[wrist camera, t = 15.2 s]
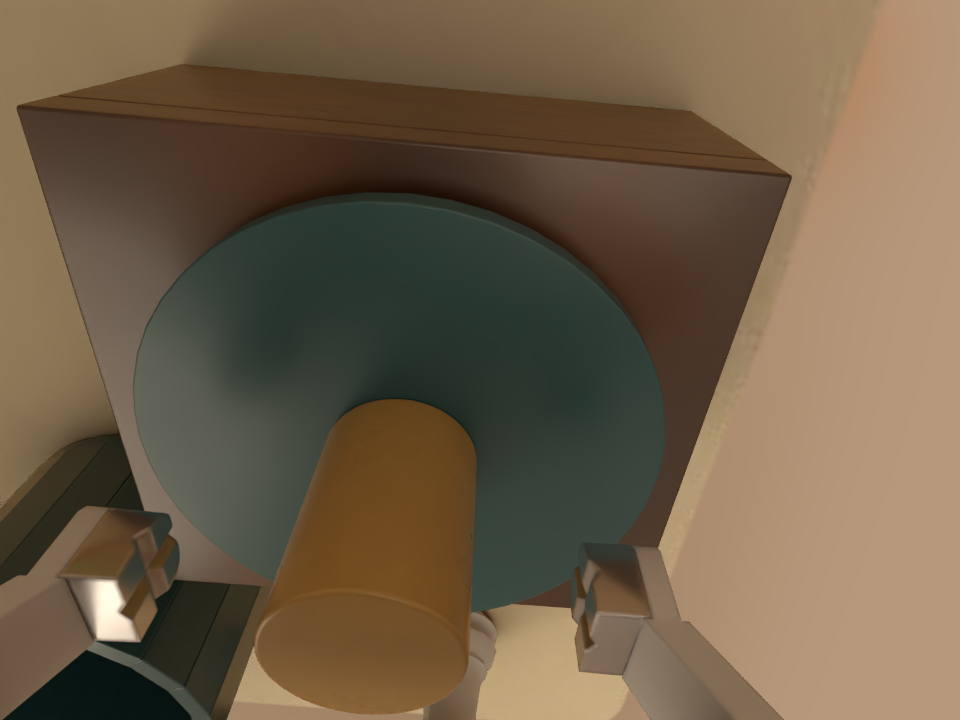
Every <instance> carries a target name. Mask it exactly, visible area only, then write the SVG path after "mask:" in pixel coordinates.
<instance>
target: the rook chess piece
mask: <svg viewBox="0 0 960 720" xmlns="http://www.w3.org/2000/svg"><path fill="white" fill-rule="evenodd" d="M496 638H497V632H496V629H495V626H494V624H493V623H492V622H491V621H490V619H489V618H488V617H487V616H486V615H484V614H483V613H482V612H481V611H480V612H472V613H471V625H470V650H469V665H468V669H467V672H466V674H465V676H464V678H463V680H462V682H461V683H460V684H459V685H458V687H457V688H456V689H455V690H454V691H453V692H452V693H451V694H449V695H448V696H446V697H445V698H443V699H442V700H440V701H438V702H436V703H434V704H431V705H429V706H426V707H424V708H423V711H424V716H423V720H476V710H477V703H478V697H479V691H480V686H481V683H482V682H483V681H484V680H485V678H486V675H487V671H488V670H489V669H490V668H491V666H492V663H493V660H494V657H495V653H496V649H495V646H494V645H495V641H496Z"/></svg>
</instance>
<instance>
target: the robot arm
mask: <svg viewBox="0 0 960 720" xmlns="http://www.w3.org/2000/svg"><path fill="white" fill-rule="evenodd" d="M172 526H173V524H172V521H171V518H170V516H169V514H167V513H160V512H150V511H140V510H130V509H119V508H107V507H95V506H86V507H84V508H83V509H81V510H79V511H78V512H77V513H76V514H75V516H74V517H73V518H72V519H71V521H70V522H69V523H68V524H67V526H66V527H65V528H64V529H63V531H62V532H61V533H60V534H59V536H58V537H57V538H56V539H55V541H54V542H53V543H52V544H51V546H50V547H49V548H48V549H47V551H46V552H45V553H44V554H43V556H42V557H41V558H40V559H39V561H38V562H37V563H36V564H35V566H34V567H33V568H32V569H31V571H30V572H29V573H28V574H27V576H26V575H18V576H16V577H14V578H13V579H11V580H9V581H7V582H6V583H4V584H2V585H0V720H2V719H4V718H5V717H6V716H7V715H8V714H10V713H11V712H12V711H13V710H14V709H16V708H17V707H18V706H19V705H20V704H22V703H23V702H24V701H25V700H26V699H28V698H29V697H30V696H31V695H32V694H34V693H35V692H36V691H37V690H38V689H40V688H41V687H42V686H43V685H44V684H46V683H47V682H48V681H49V680H50V679H52V678H53V677H54V676H55V675H56V674H58V673H59V672H60V671H61V670H62V669H64V668H65V667H66V666H67V665H68V664H70V663H71V662H72V661H73V660H74V659H76V658H77V657H78V656H79V655H80V654H82V653H83V652H84V651H85V650H86V649H88V648H89V647H90V646H91V645H92V644H94V641H119V642H141V640H142V638H143V636H144V635H145V633H146V631H147V629H148V627H149V625H150V624H151V622H152V620H153V618H154V616H155V614H156V613H157V611H158V609H157V605H156V601H155V599H156V598H158V597H159V596H161V595H162V594H164V593H165V592H166V591H168V590H169V588H170V587H171V585H172V583H173V581H174V579H175V577H176V573H177V570H178V566H179V562H180V549H179V545H178V541H177V540H175V539H174V538H173V537H172V536H171V535H169V534H168V533H169V532H170V530H171V528H172ZM578 561H579V566H578V567H577V568H575V569H574V571H573V575H572V580H571V592H570V599H571V612H572V618H573V619H574V620H575V622H576V623H577V624H578V628H577V632H576V636H575V645H576V653H577V660H578V668H579V672H589V673H599V674H610V675H620V676H623V677H622V678H623V680H624V681H625V683H626V684H627V686H628V687H629V689H630V690H631V692H632V693H633V694H634V696H635V697H636V699H637V700H638V702H639V703H640V705H641V706H642V708H643V709H644V711H645V712H646V713H647V715H648V716H649V718H650V719H651V720H784V719H783V718H782V717H781V716H780V715H779V714H778V713H777V712H776V711H775V710H774V709H773V708H772V707H771V706H770V705H769V704H768V703H767V702H766V701H765V700H764V699H763V698H762V696H761V695H760V694H758V692H757V691H756V690H755V689H754V688H753V687H752V686H751V685H750V684H749V683H748V682H747V681H746V680H745V679H744V678H743V677H742V676H741V675H740V674H739V673H738V672H737V671H736V670H735V669H734V668H733V667H732V666H731V665H730V663H729V662H728V661H727V660H726V659H725V658H724V657H723V656H722V655H721V654H720V653H719V652H718V651H717V650H716V649H715V648H714V647H713V646H712V645H711V644H710V643H709V642H708V641H707V640H706V639H705V638H704V637H703V636H702V635H701V634H700V633H699V631H698V630H697V629H696V628H695V627H694V626H693V625H692V624H691V623H690V622H687V621H681V618H680V615H679V611H678V608H677V604H676V602H675V598H674V595H673V591H672V588H671V585H670V581H669V578H668V575H667V571H666V568H665V565H664V561H663V558H662V555H661V552H660V551H659V549H658V548H657V547H643V546H630V545H618V544H602V543H585V542H582V544H581V545H580V548H579V551H578Z"/></svg>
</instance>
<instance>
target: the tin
mask: <svg viewBox="0 0 960 720" xmlns="http://www.w3.org/2000/svg"><path fill="white" fill-rule="evenodd" d="M86 506H95V507H107V508H119V509H130V510H140V511H144V509H143V506H142V503H141V500H140V496H139V493H138V490H137V487H136V484H135V481H134V478H133V474H132V471H131V468H130V465H129V462H128V459H127V455H126V452H125V449H124V446H123V443H122V440H121V437H120V434H118V435H105V436H98V437H93V438H88V439H85V440H82V441H79V442H76V443H73V444H71V445H69V446H67V447H65V448H63V449H61V450H60V451H58V452H57V453H56V454H55V455H53V456H52V457H51V458H50V459H49V460H48V461H47V462H45V463H44V464H42V465H41V466H40V467H39V468H38V469H37V470H36V471H35V472H34V473H33V474H32V475H31V476H30V477H29V478H28V480H27V481H26V482H25V483H24V484H23V485H22V486H21V487H20V488H19V489H18V490H17V491H16V492H15V493H14V494H13V495H12V496H11V497H10V498H9V500H8V501H7V502H6V503H5V504H4V505H3V506H2V507H1V508H0V585H2V584H4V583H6V582H7V581H9V580H11V579H13V578H14V577H16V576H18V575H26V576H27V574H28V573H29V572H30V571H31V569H32V568H33V567H34V566H35V564H36V563H37V562H38V561H39V559H40V558H41V557H42V556H43V554H44V553H45V552H46V551H47V549H48V548H49V547H50V546H51V544H52V543H53V542H54V541H55V539H56V538H57V537H58V536H59V534H60V533H61V532H62V531H63V529H64V528H65V527H66V526H67V524H68V523H69V522H70V521H71V519H72V518H73V517H74V516H75V514H76V513H77V512H78V511H79V510H81V509H83V508H84V507H86ZM270 590H271V587H267V586H253V585H239V584H225V583H211V582H197V581H183V580H174V581H173V583H172V585H171V587H170V588H169V590H168V591H166V592H165V593H164V594H162V595H161V596H159V597H158V598H156V599H155V601H156V605H157V609H158V611H157V613H156V614H155V616H154V618H153V620H152V622H151V624H150V625H149V627H148V629H147V631H146V633H145V635H144V636H143V638H142V640H141V642H119V641H94V644H92V645H91V646H90V647H89V648H88V649H86V650H85V651H84V652H83V653H82V654H80V655H79V656H78V657H77V658H76V659H74V660H73V661H72V662H71V663H70V664H68V665H67V666H66V667H65V668H64V669H62V670H61V671H60V672H59V673H58V674H56V675H55V676H54V677H53V678H52V679H50V680H49V681H48V682H47V683H46V684H44V685H43V686H42V687H41V688H40V689H38V690H37V691H36V692H35V693H34V694H32V695H31V696H30V697H29V698H28V699H26V700H25V701H24V702H23V703H22V704H20V705H19V706H18V707H17V708H16V709H14V710H13V711H12V712H11V713H10V714H8V715H7V716H6V717H5V718H4V719H2V720H227V717H228V714H229V712H230V709H231V706H232V704H233V701H234V698H235V695H236V693H237V690H238V687H239V685H240V682H241V679H242V676H243V674H244V671H245V668H246V665H247V663H248V660H249V657H250V655H251V652H252V649H253V646H254V635H255V630H256V627H257V625H258V622H259V619H260V617H261V614H262V611H263V609H264V606H265V603H266V601H267V598H268V595H269V593H270Z"/></svg>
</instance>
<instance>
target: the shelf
mask: <svg viewBox="0 0 960 720" xmlns="http://www.w3.org/2000/svg"><path fill="white" fill-rule="evenodd" d="M17 112H18V115H19V118H20V121H21V124H22V127H23V131H24V134H25V137H26V140H27V143H28V146H29V150H30V153H31V156H32V159H33V162H34V165H35V168H36V172H37V175H38V178H39V181H40V184H41V187H42V191H43V194H44V197H45V200H46V203H47V206H48V209H49V213H50V216H51V219H52V222H53V225H54V228H55V232H56V235H57V238H58V241H59V244H60V247H61V250H62V254H63V257H64V260H65V263H66V266H67V269H68V273H69V276H70V279H71V282H72V285H73V288H74V291H75V295H76V298H77V301H78V304H79V307H80V310H81V314H82V317H83V320H84V323H85V326H86V329H87V332H88V336H89V339H90V342H91V345H92V348H93V351H94V355H95V358H96V361H97V364H98V367H99V370H100V373H101V377H102V380H103V383H104V386H105V389H106V392H107V396H108V399H109V402H110V405H111V408H112V411H113V414H114V418H115V421H116V424H117V427H118V430H119V433H120V437H121V440H122V443H123V446H124V449H125V452H126V455H127V459H128V462H129V465H130V468H131V471H132V474H133V478H134V481H135V484H136V487H137V490H138V493H139V496H140V500H141V503H142V506H143V509H144V511H150V512H160V513H167V514H169V516H170V518H171V521H172V524H173V526H172V528H171V530H170V532H169V533H168V534H169V535H171V536H172V537H173V538H174V539H175V540H177V541H178V545H179V549H180V562H179V566H178V570H177V573H176V577H175V579H174V580H183V581H197V582H211V583H225V584H239V585H253V586H267V587H272V585H273V581H271V580H268V579H266V578H265V577H263V576H261V575H259V574H258V573H256V572H254V571H252V570H251V569H249V568H247V567H245V566H244V565H242V564H241V563H239V562H238V561H236V560H235V559H234V558H232V557H231V556H229V555H228V554H226V553H225V552H224V551H222V550H221V549H219V548H218V547H217V546H216V545H215V544H214V543H212V542H211V541H210V540H209V539H208V538H207V537H205V536H204V535H203V534H202V533H201V532H200V531H199V530H198V529H197V528H196V527H195V526H194V525H193V524H192V523H191V522H190V521H189V520H188V519H187V518H186V517H185V515H184V514H183V513H182V512H181V511H180V510H179V509H178V507H177V506H176V505H175V503H174V502H173V501H172V499H171V498H170V497H169V495H168V494H167V492H166V491H165V490H164V488H163V487H162V485H161V483H160V481H159V480H158V478H157V476H156V474H155V472H154V470H153V469H152V467H151V465H150V463H149V460H148V458H147V455H146V453H145V450H144V447H143V445H142V442H141V439H140V436H139V431H138V426H137V422H136V417H135V412H134V395H133V379H134V372H135V365H136V357H137V352H138V349H139V346H140V343H141V340H142V337H143V334H144V331H145V328H146V325H147V323H148V321H149V320H150V318H151V316H152V314H153V312H154V311H155V309H156V307H157V305H158V303H159V302H160V300H161V298H162V297H163V295H164V294H165V293H166V292H167V291H168V289H169V288H170V287H171V286H172V285H173V283H174V282H175V281H176V280H177V278H178V277H179V276H180V275H181V274H182V272H183V271H185V270H186V269H187V268H188V267H189V266H190V265H191V264H192V263H193V262H195V261H196V260H197V259H198V258H199V257H200V256H202V255H203V254H204V253H205V252H206V251H207V250H208V249H210V248H211V247H212V246H213V245H214V244H215V243H217V242H218V241H219V240H221V239H222V238H224V237H225V236H227V235H229V234H230V233H232V232H234V231H235V230H237V229H239V228H240V227H242V226H244V225H245V224H247V223H249V222H250V221H253V220H255V219H257V218H260V217H262V216H265V215H267V214H269V213H272V212H274V211H277V210H279V209H282V208H284V207H287V206H291V205H295V204H299V203H303V202H307V201H311V200H315V199H319V198H322V197H329V196H338V195H347V194H356V193H365V192H372V193H410V194H417V195H423V196H430V197H436V198H443V199H449V200H454V201H457V202H461V203H464V204H468V205H471V206H475V207H478V208H482V209H485V210H488V211H492V212H494V213H497V214H499V215H501V216H503V217H506V218H508V219H510V220H513V221H515V222H517V223H520V224H522V225H524V226H527V227H529V228H531V229H532V230H534V231H536V232H537V233H539V234H541V235H542V236H544V237H546V238H547V239H549V240H551V241H552V242H554V243H556V244H557V245H559V246H561V247H562V248H564V249H565V250H567V251H568V252H569V253H570V254H572V255H573V256H574V257H575V258H576V259H578V260H579V261H580V262H581V263H583V264H584V265H585V266H586V267H588V268H589V269H590V270H591V271H593V272H594V273H595V274H596V275H597V276H598V278H599V279H600V280H601V281H602V282H603V283H604V284H605V285H606V286H607V287H608V288H609V289H610V290H611V292H612V293H613V294H614V295H615V296H616V297H617V298H618V299H619V301H620V302H621V304H622V305H623V307H624V308H625V310H626V311H627V312H628V314H629V315H630V317H631V318H632V320H633V321H634V323H635V324H636V326H637V328H638V330H639V332H640V334H641V336H642V338H643V340H644V342H645V345H646V347H647V349H648V351H649V353H650V355H651V358H652V360H653V362H654V365H655V368H656V371H657V375H658V378H659V382H660V385H661V389H662V392H663V397H664V406H665V416H666V436H665V451H664V455H663V459H662V463H661V468H660V472H659V476H658V479H657V481H656V484H655V486H654V488H653V491H652V493H651V495H650V498H649V500H648V502H647V504H646V505H645V507H644V509H643V510H642V512H641V513H640V515H639V517H638V518H637V520H636V521H635V523H634V524H633V525H632V527H631V528H630V529H629V530H628V531H627V533H626V534H625V535H624V536H623V537H622V539H621V540H620V541H619V542H618V543H617V544H618V545H630V546H643V547H657V548H658V546H659V543H660V541H661V538H662V535H663V532H664V529H665V527H666V524H667V521H668V518H669V516H670V513H671V510H672V507H673V505H674V502H675V499H676V496H677V494H678V491H679V488H680V485H681V483H682V480H683V477H684V474H685V472H686V469H687V466H688V463H689V461H690V458H691V455H692V452H693V450H694V447H695V444H696V441H697V438H698V436H699V433H700V430H701V427H702V425H703V422H704V419H705V416H706V414H707V411H708V408H709V405H710V403H711V400H712V397H713V394H714V392H715V389H716V386H717V383H718V381H719V378H720V375H721V372H722V370H723V367H724V364H725V361H726V359H727V356H728V353H729V350H730V348H731V345H732V342H733V339H734V336H735V334H736V331H737V328H738V325H739V323H740V320H741V317H742V314H743V312H744V309H745V306H746V303H747V301H748V298H749V295H750V292H751V290H752V287H753V284H754V281H755V279H756V276H757V273H758V270H759V268H760V265H761V262H762V259H763V257H764V254H765V251H766V248H767V245H768V243H769V240H770V237H771V234H772V232H773V229H774V226H775V223H776V221H777V218H778V215H779V212H780V210H781V207H782V204H783V201H784V199H785V196H786V193H787V190H788V188H789V185H790V182H791V179H792V176H791V175H790V174H788V173H787V172H785V171H783V170H782V169H780V168H779V167H777V166H776V165H774V164H773V163H771V162H769V161H768V160H766V159H765V158H763V157H762V156H760V155H759V154H757V153H755V152H754V151H752V150H751V149H749V148H748V147H746V146H745V145H743V144H741V143H740V142H738V141H737V140H735V139H734V138H732V137H731V136H729V135H727V134H726V133H724V132H723V131H721V130H720V129H718V128H716V127H715V126H713V125H712V124H710V123H709V122H707V121H706V120H704V119H702V118H701V117H699V116H698V115H696V114H695V113H693V112H691V111H681V110H670V109H659V108H649V107H638V106H627V105H616V104H605V103H595V102H584V101H573V100H562V99H552V98H541V97H530V96H519V95H508V94H498V93H487V92H476V91H465V90H454V89H444V88H433V87H422V86H411V85H401V84H390V83H379V82H368V81H357V80H347V79H336V78H325V77H314V76H303V75H293V74H282V73H271V72H260V71H249V70H239V69H228V68H217V67H206V66H196V65H185V64H181V65H177V66H173V67H169V68H165V69H161V70H157V71H153V72H149V73H145V74H141V75H137V76H133V77H129V78H125V79H121V80H117V81H113V82H109V83H105V84H101V85H97V86H93V87H89V88H85V89H81V90H77V91H73V92H69V93H65V94H61V95H58V96H53V97H49V98H45V99H41V100H37V101H33V102H29V103H25V104H21V105H18V106H17ZM571 580H572V579H570V580H568V581H566V582H564V583H563V584H561V585H559V586H557V587H555V588H553V589H551V590H548V591H546V592H544V593H541V594H539V595H537V596H534V597H532V598H529V599H526V600H523V601H520V602H516V603H513V604H520V605H534V606H548V607H562V608H571V599H570V592H571Z"/></svg>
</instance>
